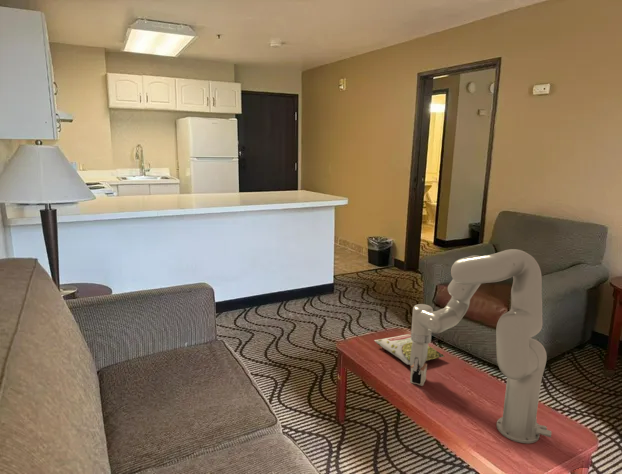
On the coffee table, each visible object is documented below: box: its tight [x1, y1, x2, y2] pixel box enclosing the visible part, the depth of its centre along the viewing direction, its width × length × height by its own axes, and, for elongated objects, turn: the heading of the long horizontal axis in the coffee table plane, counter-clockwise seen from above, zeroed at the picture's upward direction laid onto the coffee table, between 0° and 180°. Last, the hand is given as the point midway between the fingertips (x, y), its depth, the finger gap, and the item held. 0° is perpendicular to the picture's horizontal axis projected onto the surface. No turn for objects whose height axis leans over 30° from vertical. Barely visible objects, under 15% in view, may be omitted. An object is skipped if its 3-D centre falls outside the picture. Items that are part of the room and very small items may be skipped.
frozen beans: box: [373, 333, 445, 365], centre depth 189 cm, size 21×6×25 cm
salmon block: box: [409, 362, 428, 387], centre depth 166 cm, size 5×5×7 cm
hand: (418, 378), depth 166 cm, fingers closed on salmon block, 5 cm apart
